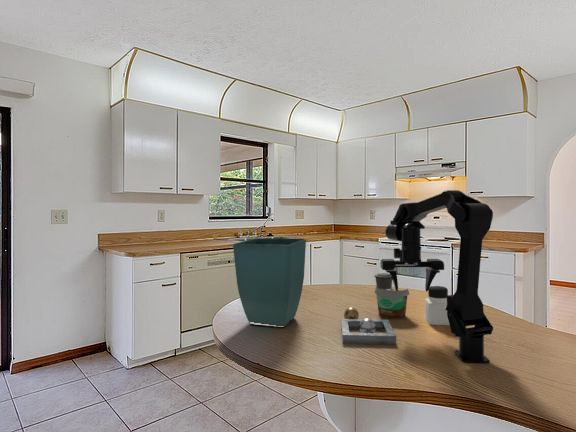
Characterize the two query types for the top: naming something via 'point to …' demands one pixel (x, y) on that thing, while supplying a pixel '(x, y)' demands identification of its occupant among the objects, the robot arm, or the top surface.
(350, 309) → the bronze ball
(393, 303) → the food container
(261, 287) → the flower pot
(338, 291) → the top surface
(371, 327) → the steel ball
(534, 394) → the top surface
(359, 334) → the grey square frame
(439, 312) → the medicine bottle
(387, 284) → the coffee cup
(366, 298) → the top surface
